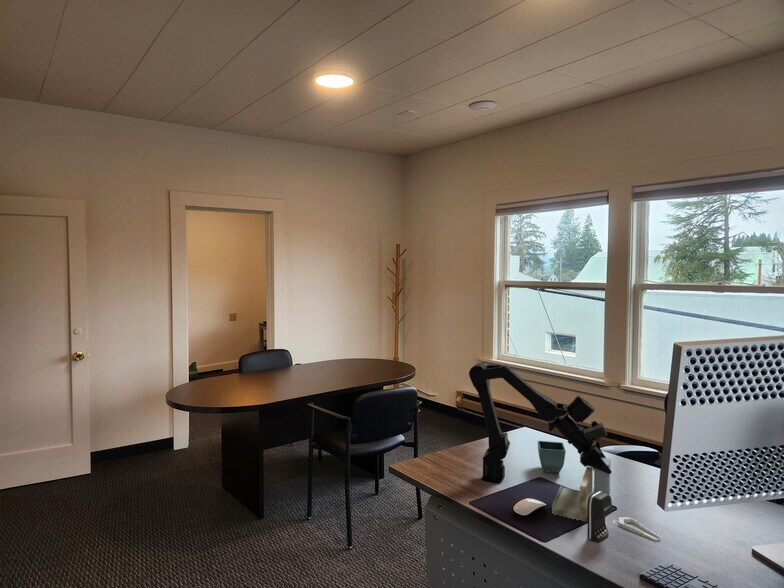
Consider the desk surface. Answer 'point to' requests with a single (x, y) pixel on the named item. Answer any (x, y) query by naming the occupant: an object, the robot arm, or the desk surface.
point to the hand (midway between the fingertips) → (610, 469)
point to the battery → (598, 515)
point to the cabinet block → (602, 478)
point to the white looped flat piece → (623, 524)
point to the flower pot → (551, 456)
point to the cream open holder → (574, 499)
